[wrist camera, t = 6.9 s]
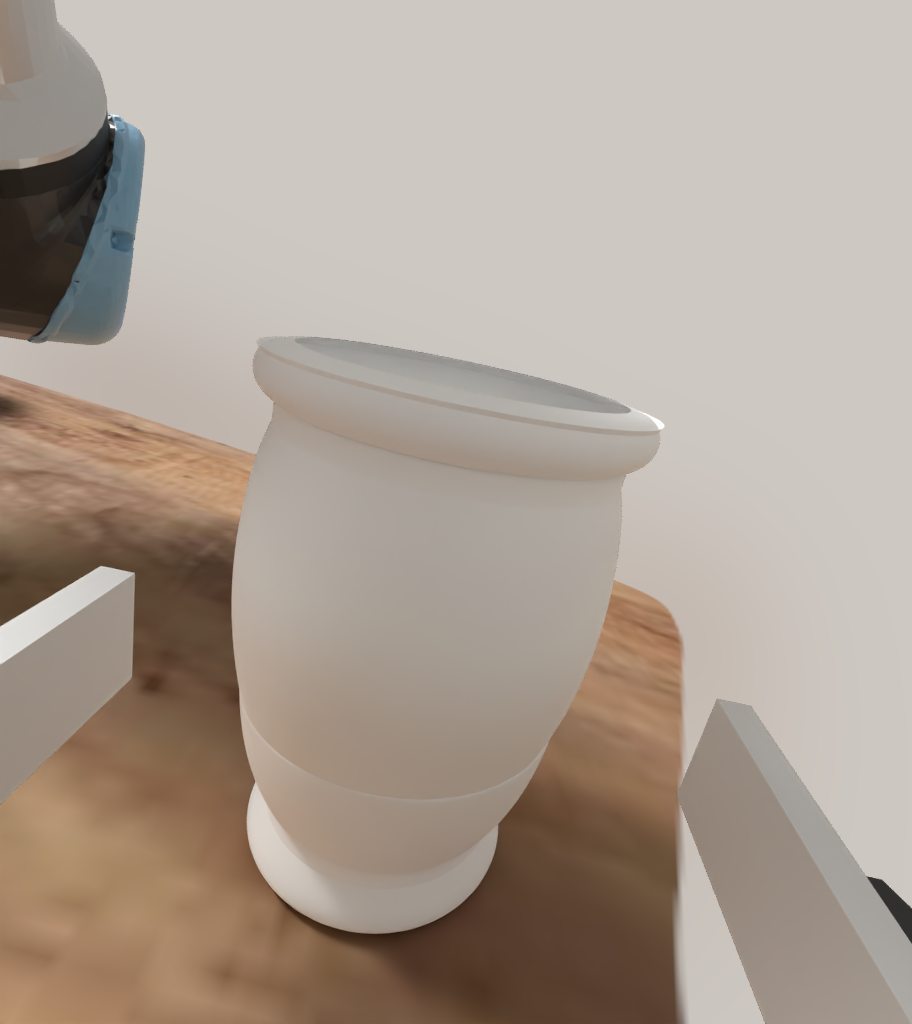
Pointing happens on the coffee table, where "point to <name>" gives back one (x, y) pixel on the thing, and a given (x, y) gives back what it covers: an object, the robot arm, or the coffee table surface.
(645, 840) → the coffee table surface
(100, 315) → the robot arm
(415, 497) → the jar
